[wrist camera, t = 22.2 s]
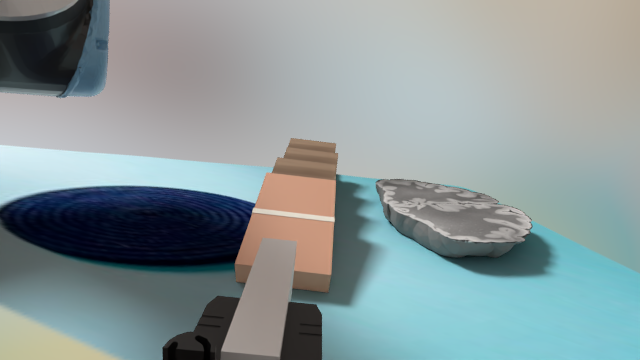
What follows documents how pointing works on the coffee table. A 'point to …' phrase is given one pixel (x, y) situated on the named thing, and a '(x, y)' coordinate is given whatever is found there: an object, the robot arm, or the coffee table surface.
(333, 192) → the domino
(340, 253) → the coffee table surface
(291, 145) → the domino
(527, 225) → the brain slice
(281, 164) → the domino
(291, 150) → the domino
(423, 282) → the coffee table surface
